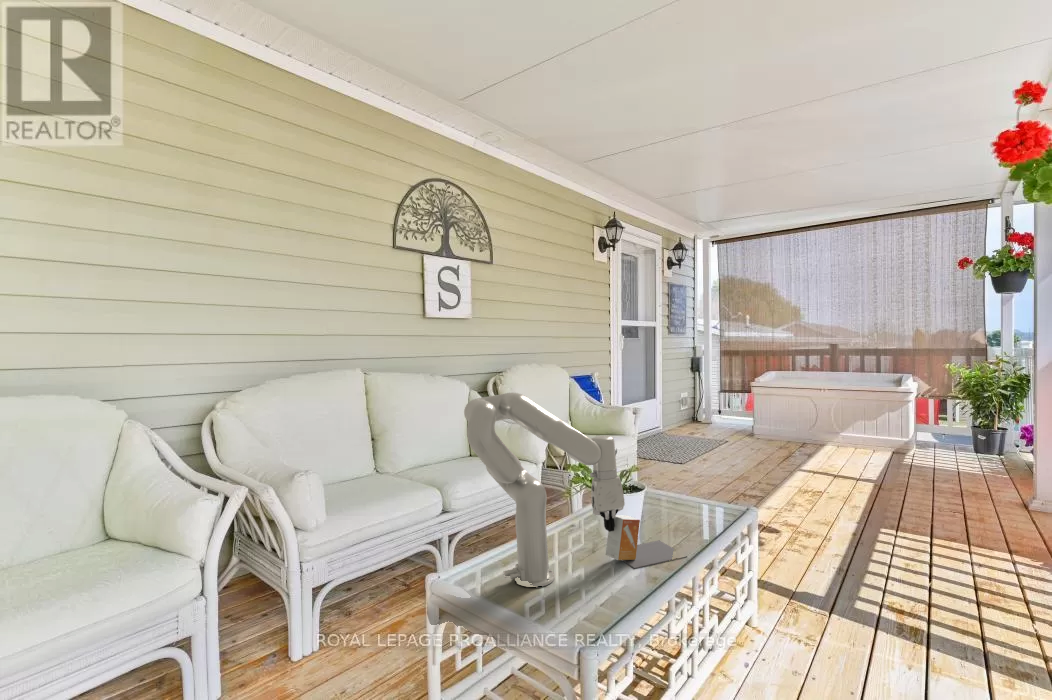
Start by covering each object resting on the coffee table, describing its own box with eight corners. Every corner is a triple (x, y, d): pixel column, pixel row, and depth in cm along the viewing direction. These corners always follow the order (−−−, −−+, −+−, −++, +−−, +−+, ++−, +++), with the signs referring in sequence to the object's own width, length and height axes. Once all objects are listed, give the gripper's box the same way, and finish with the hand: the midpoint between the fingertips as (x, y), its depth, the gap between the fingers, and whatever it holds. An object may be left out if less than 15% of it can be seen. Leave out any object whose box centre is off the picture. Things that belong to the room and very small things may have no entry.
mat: (634, 569, 161) (634, 567, 161) (609, 551, 176) (609, 550, 176) (687, 557, 168) (687, 555, 168) (659, 541, 183) (659, 540, 183)
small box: (618, 560, 163) (622, 519, 165) (604, 555, 168) (609, 514, 170) (636, 560, 167) (640, 519, 169) (622, 554, 173) (626, 515, 174)
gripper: (589, 480, 161) (594, 538, 161) (631, 472, 166) (635, 529, 166) (579, 475, 168) (584, 531, 168) (619, 468, 173) (623, 522, 173)
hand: (609, 529), depth 167 cm, fingers closed
